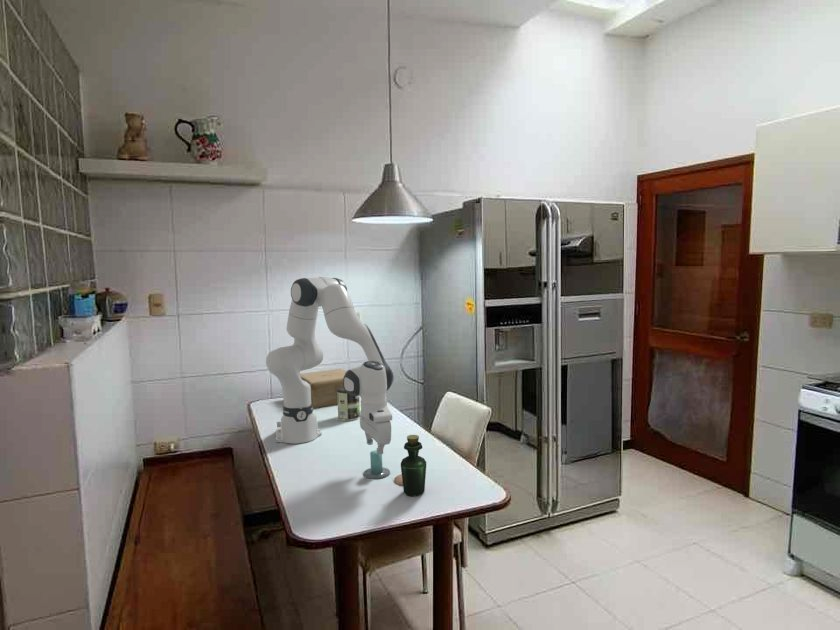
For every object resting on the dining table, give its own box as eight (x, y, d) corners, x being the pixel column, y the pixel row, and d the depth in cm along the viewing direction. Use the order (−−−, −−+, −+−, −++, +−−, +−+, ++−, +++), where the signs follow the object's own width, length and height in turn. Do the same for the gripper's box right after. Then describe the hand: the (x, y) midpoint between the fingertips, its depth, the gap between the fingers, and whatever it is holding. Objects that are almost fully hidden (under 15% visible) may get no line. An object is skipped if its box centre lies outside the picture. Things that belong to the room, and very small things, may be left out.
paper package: (341, 391, 291) (340, 366, 289) (360, 401, 269) (360, 374, 267) (294, 398, 277) (292, 373, 275) (311, 410, 255) (309, 382, 253)
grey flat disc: (360, 471, 180) (359, 470, 180) (384, 466, 184) (383, 465, 184) (369, 481, 172) (369, 479, 172) (394, 475, 176) (394, 474, 176)
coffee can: (361, 414, 246) (360, 385, 244) (358, 421, 236) (357, 390, 234) (339, 414, 246) (338, 385, 245) (336, 421, 236) (334, 391, 234)
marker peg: (369, 471, 179) (368, 451, 178) (380, 468, 181) (379, 449, 180) (373, 475, 175) (372, 455, 174) (384, 473, 177) (383, 453, 176)
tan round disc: (389, 477, 174) (389, 476, 174) (414, 472, 178) (414, 471, 178) (401, 488, 166) (400, 487, 166) (426, 482, 170) (425, 481, 170)
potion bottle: (400, 487, 167) (399, 433, 165) (426, 485, 167) (424, 431, 165) (401, 498, 159) (400, 442, 157) (428, 497, 159) (427, 440, 157)
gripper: (355, 402, 183) (355, 440, 185) (376, 419, 165) (376, 461, 167) (371, 400, 186) (372, 437, 188) (394, 416, 168) (394, 457, 169)
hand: (374, 448), depth 177 cm, fingers open, 8 cm apart
